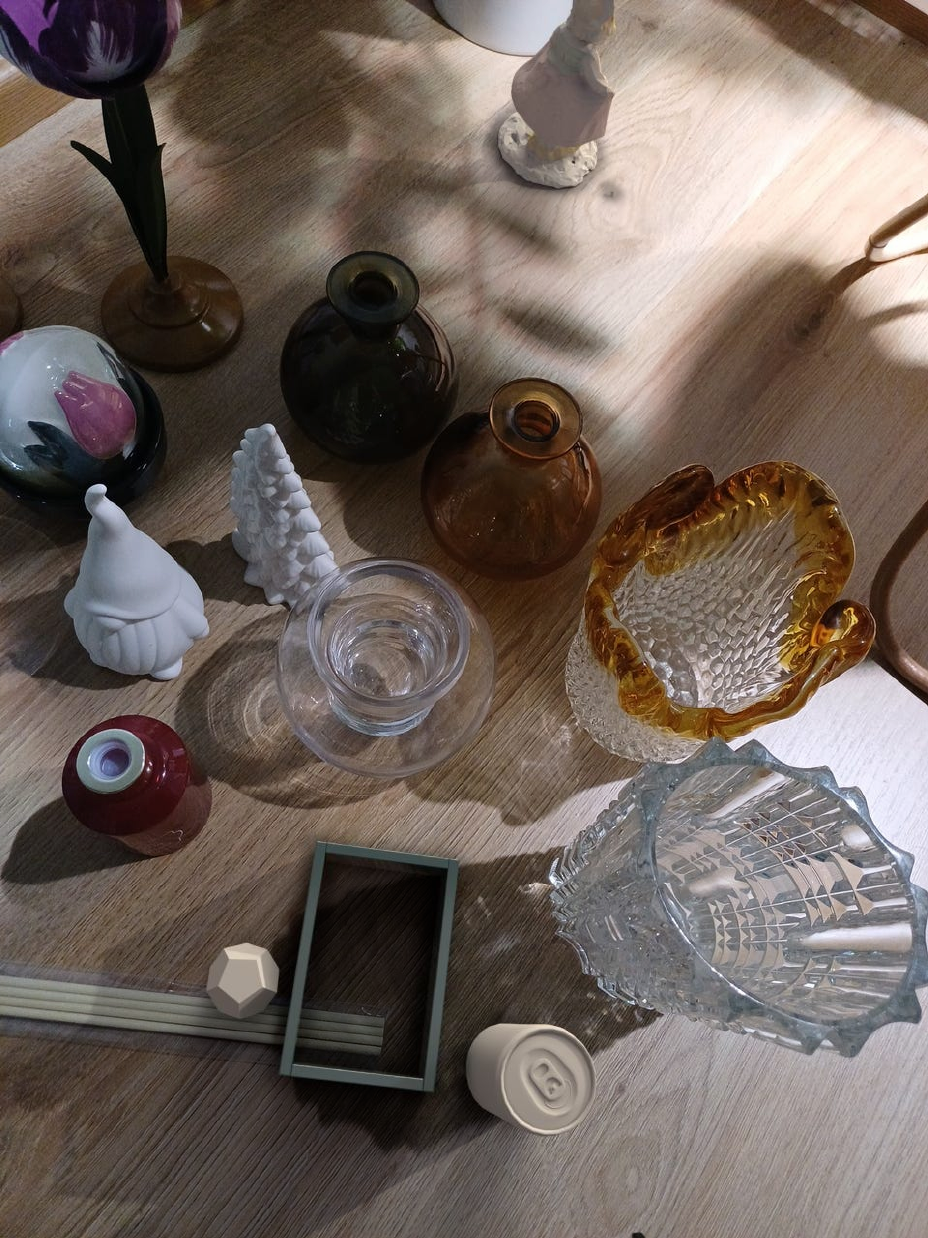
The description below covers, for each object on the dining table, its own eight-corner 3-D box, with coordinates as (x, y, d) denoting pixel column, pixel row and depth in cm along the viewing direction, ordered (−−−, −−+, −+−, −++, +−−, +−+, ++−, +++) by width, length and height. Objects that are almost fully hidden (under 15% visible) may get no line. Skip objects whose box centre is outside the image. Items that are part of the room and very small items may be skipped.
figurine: (652, 128, 85) (688, 7, 70) (596, 232, 85) (620, 132, 70) (536, 70, 86) (547, -62, 71) (479, 173, 85) (478, 61, 70)
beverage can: (499, 1135, 58) (543, 1163, 47) (445, 1062, 59) (475, 1073, 48) (563, 1074, 59) (620, 1088, 48) (510, 1005, 60) (553, 1002, 49)
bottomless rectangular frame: (427, 1088, 58) (434, 1092, 55) (280, 1072, 57) (278, 1075, 54) (452, 867, 63) (459, 859, 59) (316, 850, 62) (316, 840, 59)
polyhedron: (216, 1026, 58) (211, 1027, 55) (202, 957, 59) (196, 954, 56) (287, 1004, 59) (286, 1003, 56) (272, 937, 60) (269, 932, 57)
